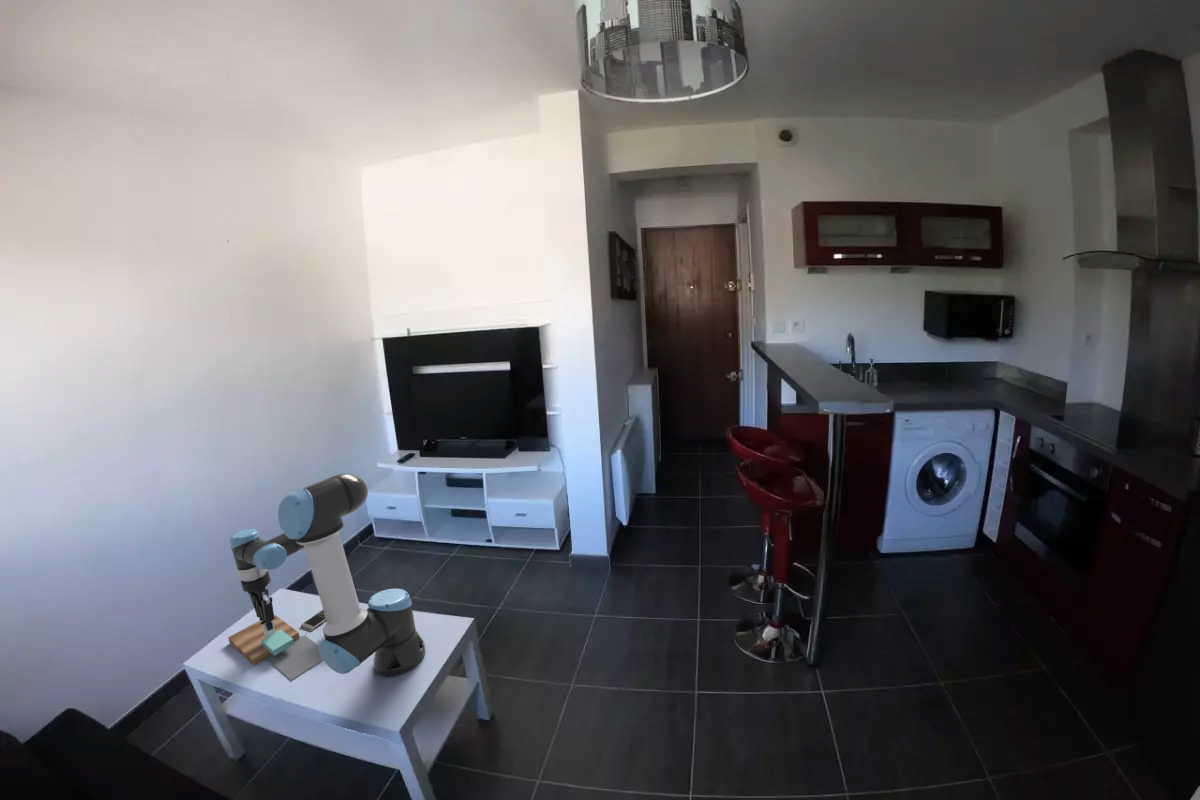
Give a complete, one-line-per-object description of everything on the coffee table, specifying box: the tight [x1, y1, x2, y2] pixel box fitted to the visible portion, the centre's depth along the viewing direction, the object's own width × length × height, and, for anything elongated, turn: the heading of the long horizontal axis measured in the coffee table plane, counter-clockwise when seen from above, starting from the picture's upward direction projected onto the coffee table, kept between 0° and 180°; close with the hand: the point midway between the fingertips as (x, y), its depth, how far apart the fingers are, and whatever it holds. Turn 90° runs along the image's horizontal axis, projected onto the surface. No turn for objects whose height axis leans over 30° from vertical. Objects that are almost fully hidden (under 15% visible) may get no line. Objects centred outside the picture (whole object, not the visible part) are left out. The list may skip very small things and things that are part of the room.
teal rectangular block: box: [261, 630, 294, 656], centre depth 156 cm, size 9×6×2 cm, turn 56°
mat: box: [265, 634, 324, 682], centre depth 153 cm, size 18×12×1 cm, turn 56°
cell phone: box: [300, 609, 327, 632], centre depth 171 cm, size 6×11×1 cm, turn 156°
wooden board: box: [227, 613, 300, 667], centre depth 162 cm, size 20×14×2 cm
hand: (270, 636), depth 159 cm, fingers closed
